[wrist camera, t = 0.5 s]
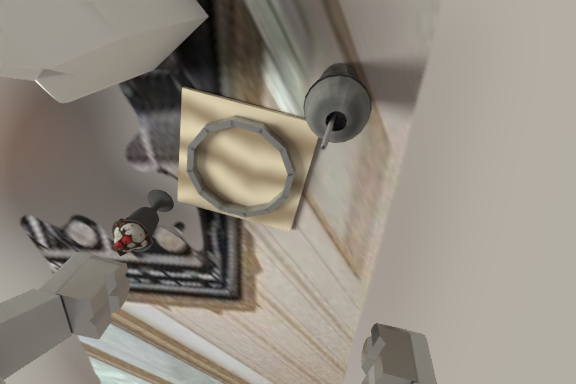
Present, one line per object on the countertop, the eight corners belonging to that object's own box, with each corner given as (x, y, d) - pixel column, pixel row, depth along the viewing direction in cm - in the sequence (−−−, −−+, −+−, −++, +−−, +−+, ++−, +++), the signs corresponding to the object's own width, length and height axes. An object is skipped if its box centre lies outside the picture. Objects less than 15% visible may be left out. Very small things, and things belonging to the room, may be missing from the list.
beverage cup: (376, 87, 46) (393, 152, 29) (330, 116, 49) (323, 189, 32) (347, 40, 43) (349, 81, 26) (301, 73, 46) (277, 129, 29)
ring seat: (184, 86, 49) (177, 91, 47) (322, 123, 49) (321, 130, 47) (179, 199, 61) (173, 207, 59) (290, 228, 61) (288, 238, 59)
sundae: (169, 182, 59) (122, 238, 47) (183, 213, 63) (143, 272, 50) (137, 187, 61) (83, 241, 49) (152, 216, 64) (106, 274, 52)
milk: (208, 16, 44) (75, 57, 22) (154, 69, 49) (2, 145, 27) (138, -76, 40) (-111, -136, 18) (86, -8, 44) (-158, 10, 23)
